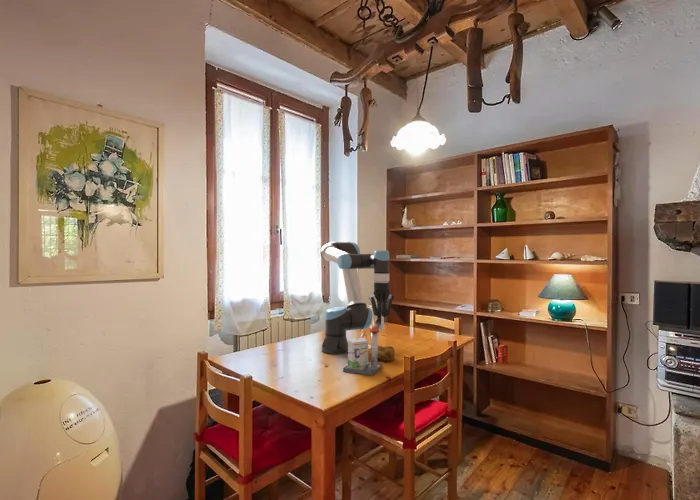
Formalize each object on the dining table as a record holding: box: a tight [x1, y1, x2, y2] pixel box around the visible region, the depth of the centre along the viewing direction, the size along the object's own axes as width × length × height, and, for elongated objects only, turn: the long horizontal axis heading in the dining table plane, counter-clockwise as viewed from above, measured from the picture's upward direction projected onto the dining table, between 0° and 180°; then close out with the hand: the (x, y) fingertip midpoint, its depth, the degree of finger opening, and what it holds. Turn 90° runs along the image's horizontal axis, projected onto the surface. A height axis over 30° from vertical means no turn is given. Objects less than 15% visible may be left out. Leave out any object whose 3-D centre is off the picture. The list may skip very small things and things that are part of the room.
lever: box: [369, 318, 380, 334], centre depth 178 cm, size 4×18×4 cm, turn 170°
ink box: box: [347, 337, 369, 367], centre depth 175 cm, size 9×5×12 cm, turn 117°
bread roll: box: [370, 345, 396, 362], centre depth 189 cm, size 13×10×8 cm
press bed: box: [342, 332, 383, 377], centre depth 174 cm, size 15×14×18 cm
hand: (381, 329), depth 183 cm, fingers closed
